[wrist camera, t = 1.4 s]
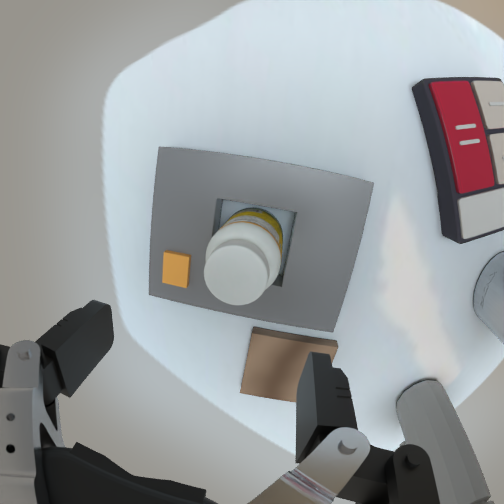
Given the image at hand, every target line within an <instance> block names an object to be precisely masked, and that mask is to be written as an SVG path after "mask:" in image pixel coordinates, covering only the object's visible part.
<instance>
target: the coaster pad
mask: <svg viewBox="0 0 504 504" xmlns="http://www.w3.org/2000/svg"><path fill="white" fill-rule="evenodd" d="M337 349H338V344H337V341H334V340H328V339H321V338H314V337H308V336H302V335H296V334H290V333H284V332H279V331H273V330H268V329H263V328H257V327H253V331H252V335H251V340H250V345H249V350H248V355H247V360H246V365H245V370H244V375H243V380H242V385H241V390H240V393H243V394H248V395H254V396H259V397H265V398H271V399H277V400H284V401H290V402H296V394H297V387H298V382H299V379H300V377H301V374H302V371H303V368H304V365H305V362H306V360H307V357H308V354H309V352H310V351H311V352H318V353H325V354H330V357H331V363H332V362H333V359H334V357H335V354H336V352H337Z"/></svg>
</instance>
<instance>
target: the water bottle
mask: <svg viewBox="0 0 504 504" xmlns="http://www.w3.org/2000/svg"><path fill="white" fill-rule="evenodd" d="M397 415H398V418H399V421H400V424H401V428H402V431H403V434H404V438H405V441H403V442H402V443H401V444H400V446H402V445H405V444H414V445H417V446H419V447H421V448H423V449H424V450H425V451H426V452H427V453H428V455H429V457H430V460H431V464H432V468H433V473H434V477H435V481H436V486H437V490H438V495H439V500H440V504H494V502H493V501H488V502H486V501H487V500H488V499H489V498H490V497H491V495H490V492H489V489H488V486H487V484H486V481H485V478H484V476H483V473H482V470H481V468H480V465H479V463H478V460H477V458H476V455H475V454H474V451H473V449H472V446H471V444H470V441H469V440H468V437H467V435H466V432H465V430H464V428H463V426H462V424H461V422H460V420H459V417H458V415H457V414H456V411H455V409H454V407H453V405H452V403H451V401H450V399H449V397H448V395H447V393H446V392H445V390H444V388H443V386H442V385H441V384H440V383H439V382H438V381H431V380H425V381H422V382H420V383H417V384H414V385H413V386H412V387H410V388H409V389H407V390H406V391H404V392H403V394H402V395H401V397H400V398H399V400H398V402H397Z"/></svg>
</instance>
